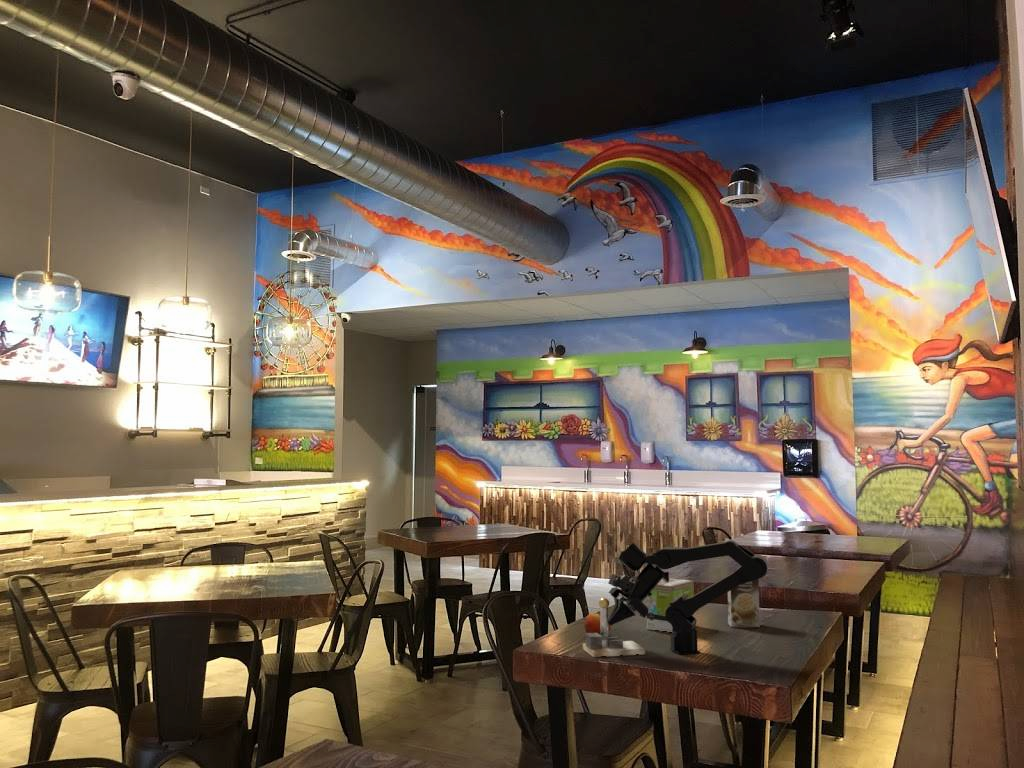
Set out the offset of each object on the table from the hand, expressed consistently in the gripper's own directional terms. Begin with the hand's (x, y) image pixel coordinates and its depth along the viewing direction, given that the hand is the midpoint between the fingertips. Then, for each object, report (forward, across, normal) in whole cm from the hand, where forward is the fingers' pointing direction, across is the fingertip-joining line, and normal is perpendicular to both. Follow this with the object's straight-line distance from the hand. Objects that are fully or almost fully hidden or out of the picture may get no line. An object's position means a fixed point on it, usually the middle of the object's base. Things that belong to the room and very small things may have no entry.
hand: (608, 624), depth 232 cm
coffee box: (-32, -23, +44) cm, 59 cm away
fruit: (+4, -19, +8) cm, 21 cm away
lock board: (+4, 0, +6) cm, 8 cm away
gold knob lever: (+6, 0, +2) cm, 7 cm away
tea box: (-15, -26, +27) cm, 40 cm away
